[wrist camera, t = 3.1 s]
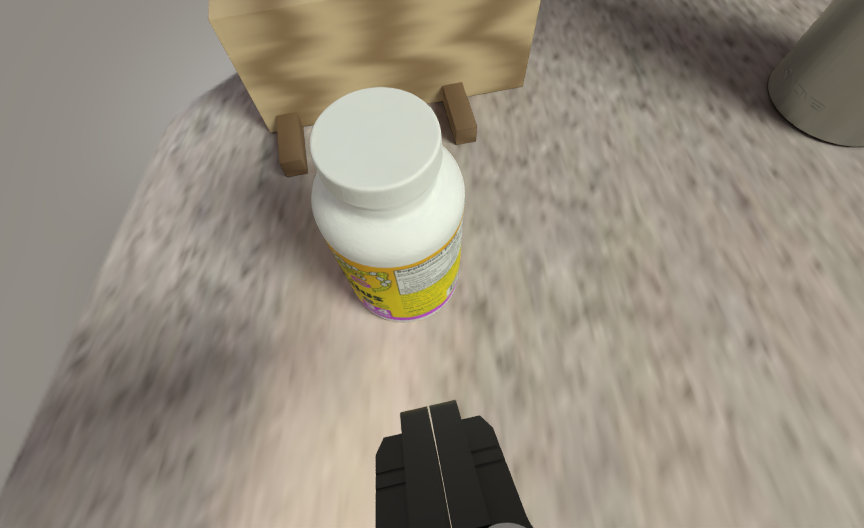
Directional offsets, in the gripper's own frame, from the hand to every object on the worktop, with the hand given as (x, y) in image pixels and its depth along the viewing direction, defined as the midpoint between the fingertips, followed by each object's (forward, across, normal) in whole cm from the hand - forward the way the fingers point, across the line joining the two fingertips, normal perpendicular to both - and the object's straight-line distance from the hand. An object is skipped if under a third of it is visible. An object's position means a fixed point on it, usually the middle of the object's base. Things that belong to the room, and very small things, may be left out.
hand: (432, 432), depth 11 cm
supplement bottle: (+16, 0, +2) cm, 16 cm away
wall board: (+25, -2, -8) cm, 26 cm away
